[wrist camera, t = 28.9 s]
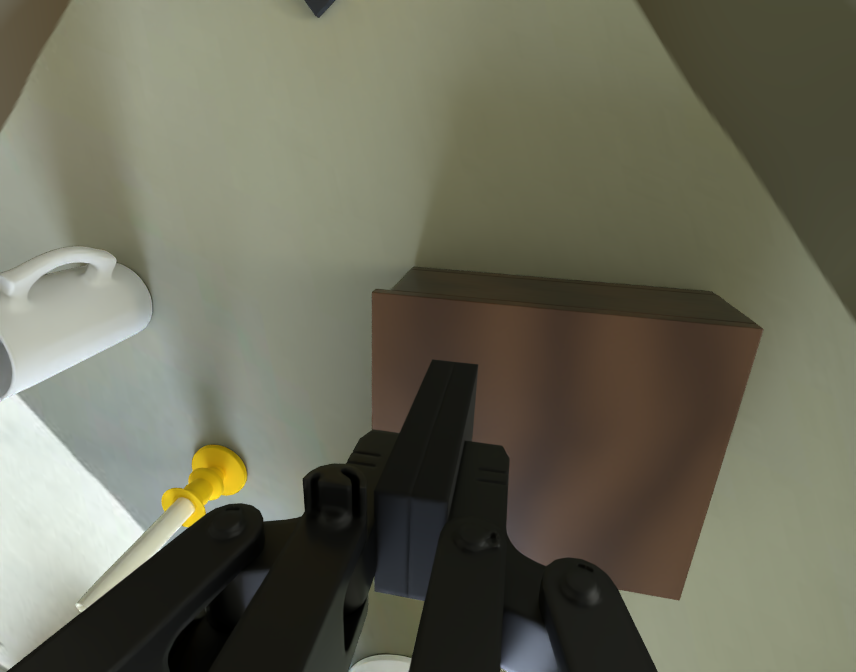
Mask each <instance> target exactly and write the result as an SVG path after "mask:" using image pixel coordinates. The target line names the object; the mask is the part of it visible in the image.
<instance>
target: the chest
mask: <svg viewBox="0 0 856 672" xmlns="http://www.w3.org/2000/svg"><path fill="white" fill-rule="evenodd" d="M391 290H394V291H404V292H415V293H426V294H437V295H448V296H458V297H469V298H480V299H491V300H501V301H512V302H523V303H534V304H545V305H555V306H566V307H577V308H588V309H598V310H609V311H620V312H631V313H642V314H652V315H663V316H674V317H685V318H696V319H706V320H717V321H728V322H739V323H749V324H756V323H755V322H753V321H752V320H751V319H749V318H748V317H747V316H745V315H744V314H743V313H741V312H740V311H738V310H737V309H736V308H734V307H733V306H732V305H730V304H729V303H728V302H726V301H725V300H724V299H722V298H721V297H719V296H718V295H716V294H715V293H714V292H710V291H698V290H686V289H674V288H663V287H651V286H639V285H627V284H615V283H603V282H591V281H579V280H567V279H555V278H543V277H531V276H519V275H507V274H495V273H483V272H471V271H459V270H447V269H435V268H423V267H413V268H412V269H411V270H410V271H409V272H408V273H407V274H406V275H405V276H404V277H403V278H402V279H401V280H400V281H399V282H398V283H397V284H396V285H395V286H394V287H393V288H392V289H391Z"/></svg>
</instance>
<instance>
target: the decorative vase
mask: <svg viewBox="0 0 856 672" xmlns="http://www.w3.org/2000/svg"><path fill="white" fill-rule="evenodd" d="M411 659H412V658H409V657H405V656H399V655H389V654H385V655H375V656H371V657H367V658H365V659H362V660H360V661H359V662H357V663H356V664H355V665H354V666H353V667H352V668H351V669H350V670H349V672H409V668H410V663H411Z"/></svg>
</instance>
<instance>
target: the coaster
mask: <svg viewBox="0 0 856 672" xmlns="http://www.w3.org/2000/svg"><path fill="white" fill-rule="evenodd" d="M334 1H335V0H305V2H306V3H307V4H308V6H309V7H310V9H311V10H312V11H313V13H314V14H315V16H317V17H318V18H319V17H320V16H321V15H322V14H323V13H324V12H325V11H326V10H327V9H328V8H329V7H330V5H331V4H332V3H333V2H334Z"/></svg>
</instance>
